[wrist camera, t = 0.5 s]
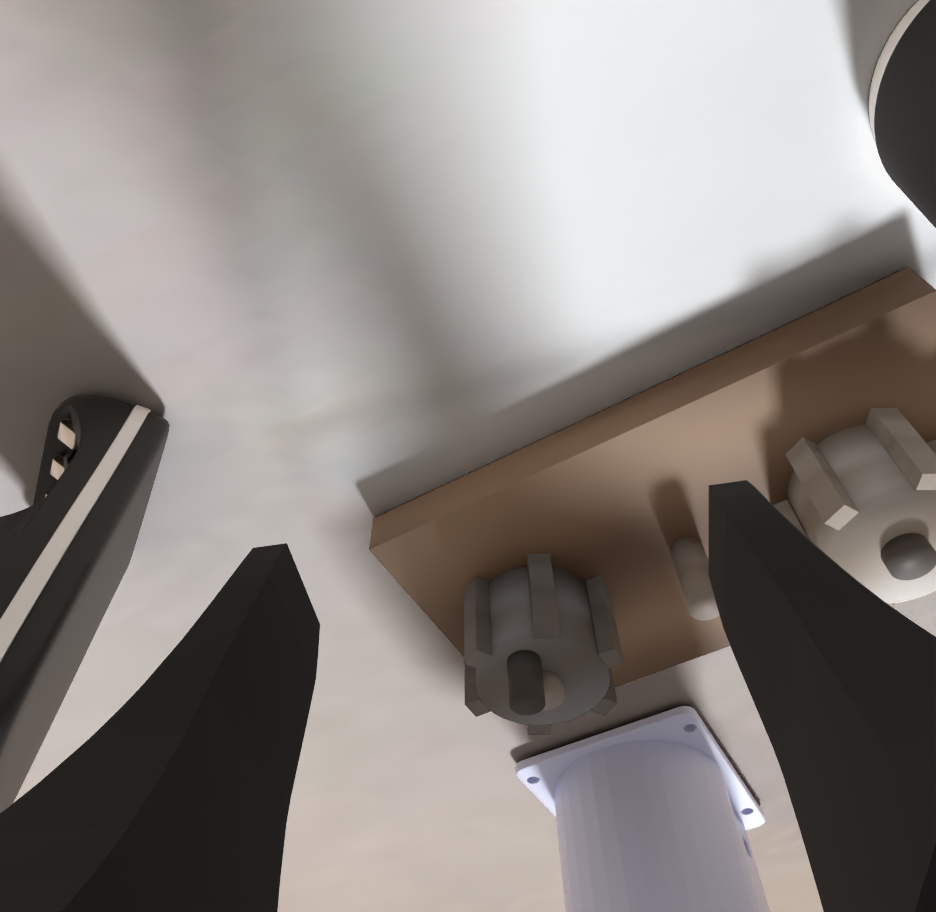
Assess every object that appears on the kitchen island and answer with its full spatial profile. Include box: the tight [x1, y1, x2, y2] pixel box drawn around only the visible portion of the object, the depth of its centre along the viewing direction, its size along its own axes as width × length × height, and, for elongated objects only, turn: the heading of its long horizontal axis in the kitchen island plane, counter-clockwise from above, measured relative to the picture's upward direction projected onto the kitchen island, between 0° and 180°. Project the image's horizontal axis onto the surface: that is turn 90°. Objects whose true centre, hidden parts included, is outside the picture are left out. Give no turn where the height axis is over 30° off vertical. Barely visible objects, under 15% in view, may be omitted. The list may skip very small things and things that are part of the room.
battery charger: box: [0, 396, 169, 813], centre depth 20 cm, size 7×4×11 cm, turn 155°
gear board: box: [369, 267, 936, 735], centre depth 24 cm, size 10×17×6 cm, turn 120°
